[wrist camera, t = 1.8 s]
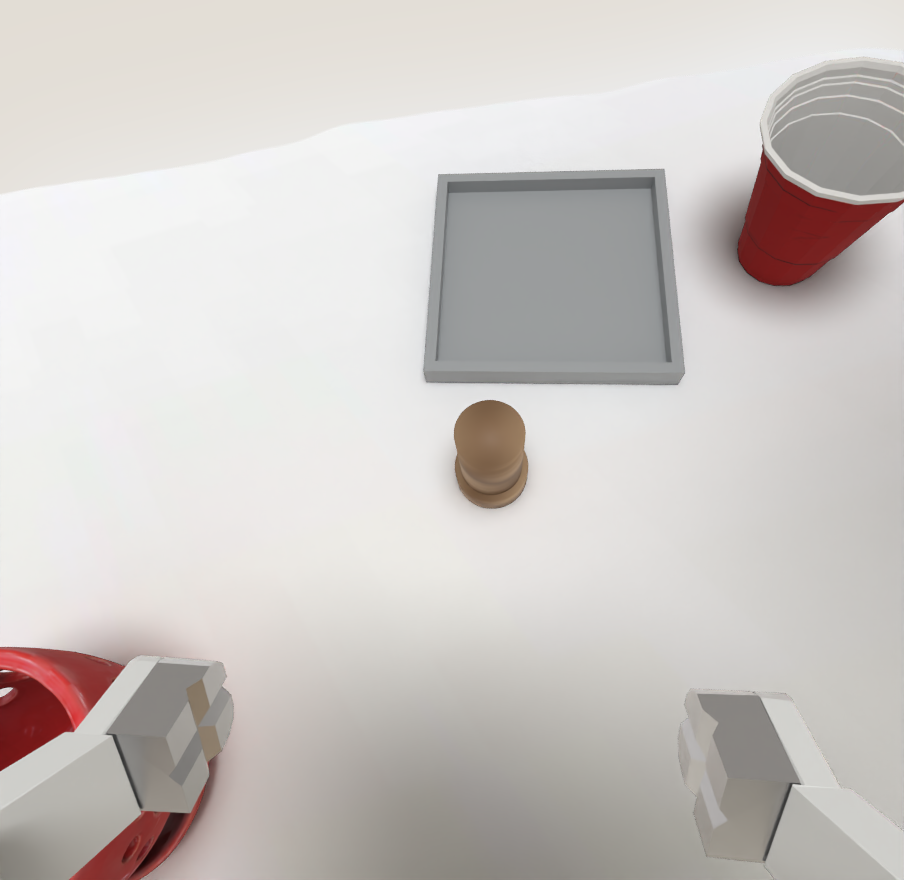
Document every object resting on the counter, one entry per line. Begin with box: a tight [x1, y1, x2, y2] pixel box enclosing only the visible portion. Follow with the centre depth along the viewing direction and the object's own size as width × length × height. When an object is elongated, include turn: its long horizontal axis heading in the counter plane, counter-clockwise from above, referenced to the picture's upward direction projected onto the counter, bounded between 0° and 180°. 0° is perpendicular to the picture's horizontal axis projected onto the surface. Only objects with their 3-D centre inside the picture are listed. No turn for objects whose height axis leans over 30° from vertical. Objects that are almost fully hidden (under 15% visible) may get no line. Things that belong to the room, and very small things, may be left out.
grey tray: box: [424, 169, 685, 385], centre depth 44 cm, size 18×18×2 cm
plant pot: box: [0, 647, 209, 880], centre depth 29 cm, size 13×13×12 cm
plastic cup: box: [737, 57, 904, 286], centre depth 38 cm, size 11×11×12 cm
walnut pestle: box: [454, 400, 528, 508], centre depth 36 cm, size 5×5×8 cm
